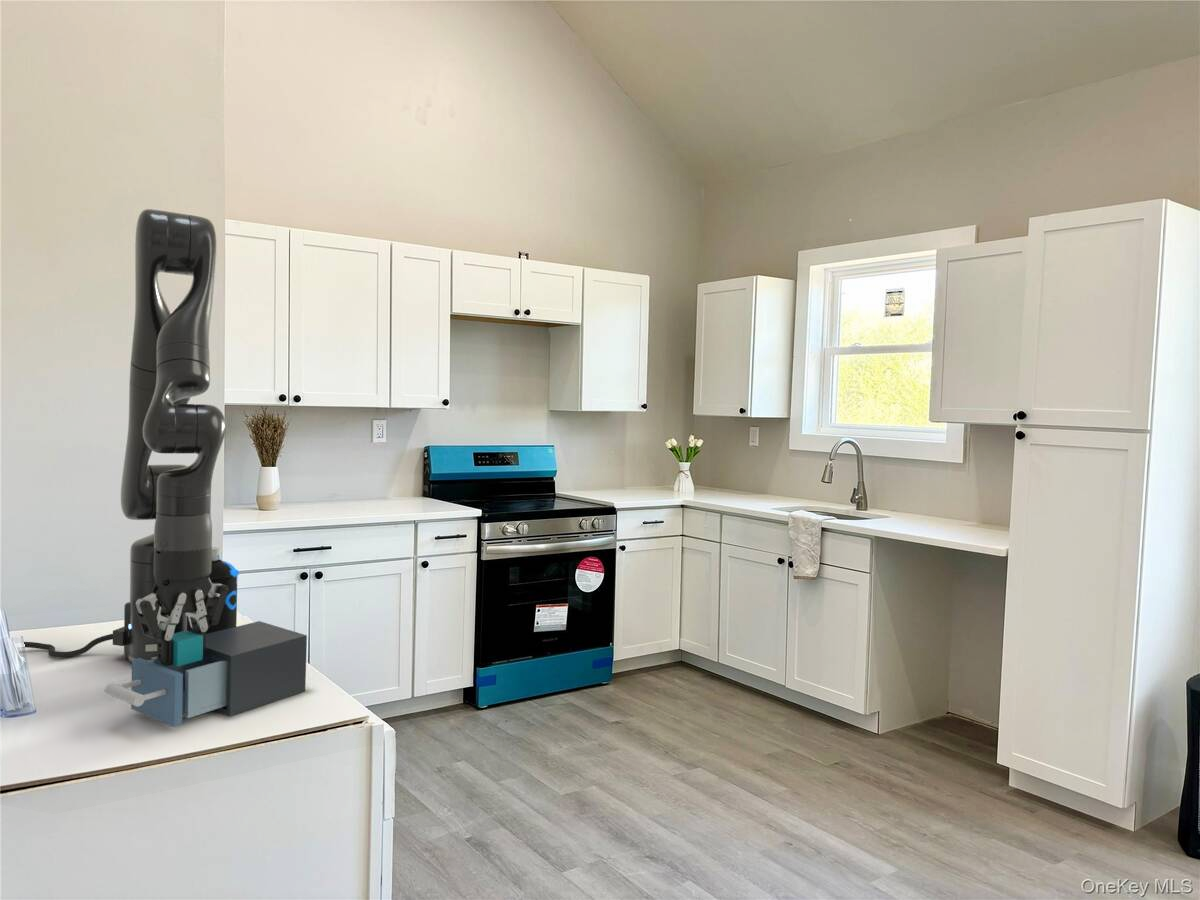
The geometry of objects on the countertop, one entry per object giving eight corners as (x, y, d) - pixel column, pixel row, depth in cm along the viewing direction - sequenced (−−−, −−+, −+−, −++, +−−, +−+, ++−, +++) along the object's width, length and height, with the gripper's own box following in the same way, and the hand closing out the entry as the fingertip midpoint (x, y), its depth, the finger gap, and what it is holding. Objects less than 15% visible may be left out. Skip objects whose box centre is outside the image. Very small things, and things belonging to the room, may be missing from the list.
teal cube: (177, 666, 126) (177, 642, 126) (160, 660, 128) (160, 636, 128) (202, 660, 130) (203, 635, 129) (186, 654, 132) (186, 630, 131)
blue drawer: (140, 738, 119) (141, 685, 118) (97, 718, 125) (97, 668, 124) (251, 701, 134) (253, 654, 133) (209, 685, 139) (209, 639, 139)
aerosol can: (185, 674, 146) (187, 554, 144) (183, 659, 153) (185, 544, 151) (239, 669, 149) (242, 552, 148) (235, 654, 157) (237, 542, 155)
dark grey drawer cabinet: (229, 716, 130) (231, 656, 129) (182, 697, 136) (182, 639, 135) (305, 691, 142) (306, 635, 141) (258, 674, 148) (259, 620, 147)
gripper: (211, 533, 135) (209, 643, 137) (119, 546, 123) (118, 667, 125) (243, 540, 132) (240, 654, 133) (151, 554, 119) (149, 679, 121)
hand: (181, 659), depth 129 cm, fingers closed on teal cube, 4 cm apart
